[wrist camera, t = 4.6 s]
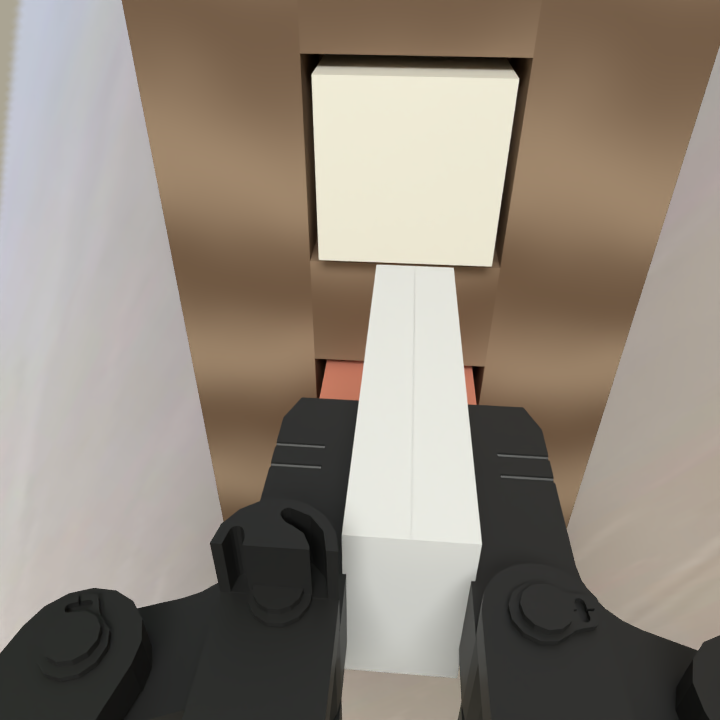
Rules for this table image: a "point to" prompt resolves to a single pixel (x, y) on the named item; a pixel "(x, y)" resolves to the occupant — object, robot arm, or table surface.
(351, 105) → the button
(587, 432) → the wooden button box
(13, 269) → the table surface
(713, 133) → the table surface
